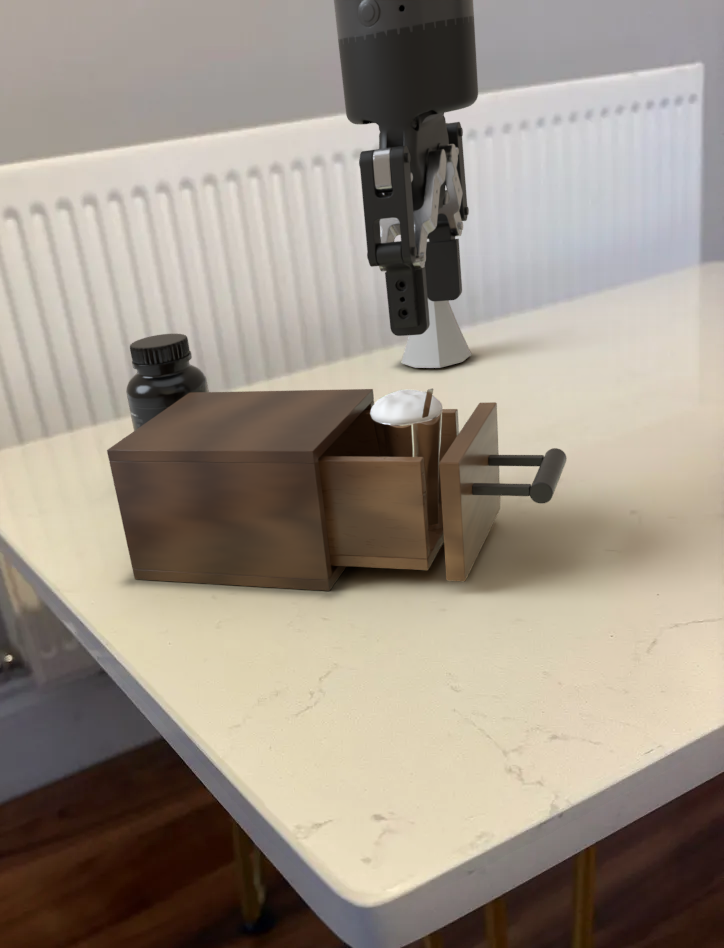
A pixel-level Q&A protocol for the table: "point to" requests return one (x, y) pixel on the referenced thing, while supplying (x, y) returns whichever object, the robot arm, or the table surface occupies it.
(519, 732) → the table surface
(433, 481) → the milkshake
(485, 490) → the drawer
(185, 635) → the table surface
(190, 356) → the supplement bottle
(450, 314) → the flask
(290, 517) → the cabinet
